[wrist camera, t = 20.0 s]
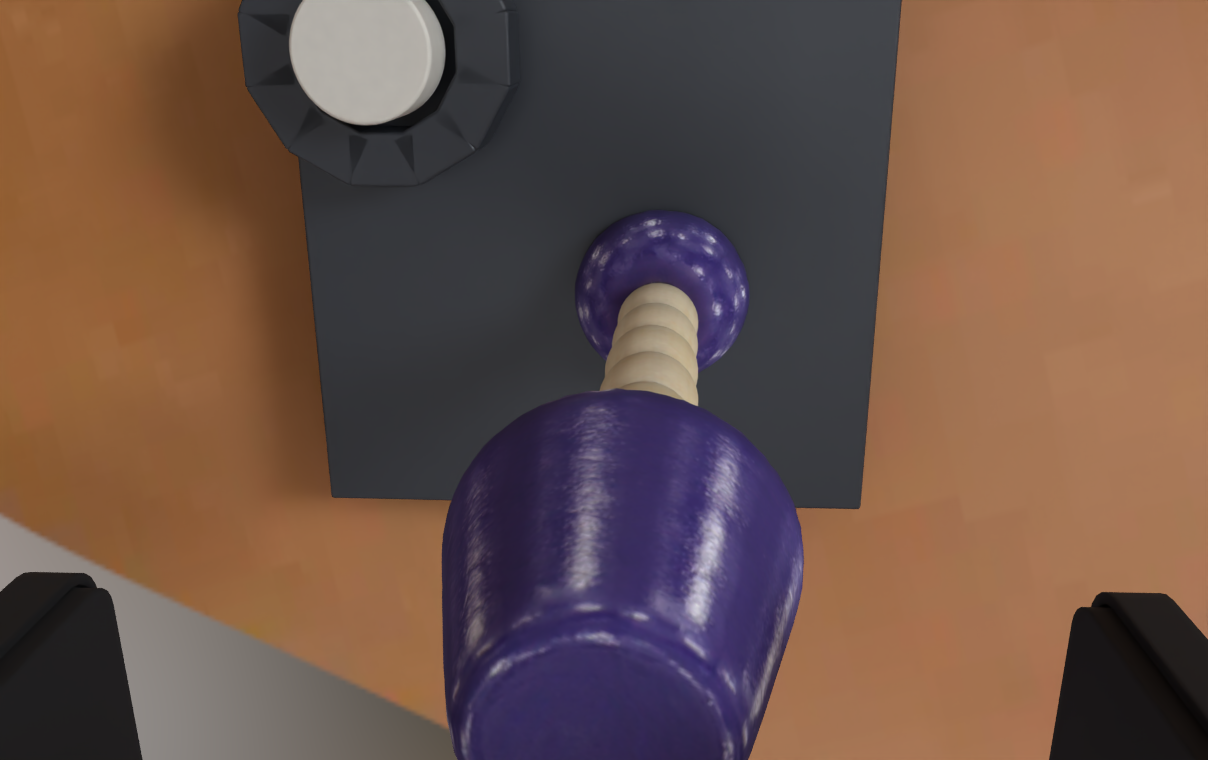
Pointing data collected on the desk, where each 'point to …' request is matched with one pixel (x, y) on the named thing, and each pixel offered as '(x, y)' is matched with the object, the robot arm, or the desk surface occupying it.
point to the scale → (592, 220)
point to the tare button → (367, 57)
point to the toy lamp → (624, 534)
